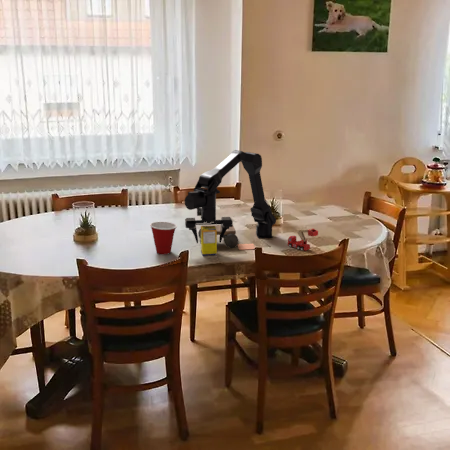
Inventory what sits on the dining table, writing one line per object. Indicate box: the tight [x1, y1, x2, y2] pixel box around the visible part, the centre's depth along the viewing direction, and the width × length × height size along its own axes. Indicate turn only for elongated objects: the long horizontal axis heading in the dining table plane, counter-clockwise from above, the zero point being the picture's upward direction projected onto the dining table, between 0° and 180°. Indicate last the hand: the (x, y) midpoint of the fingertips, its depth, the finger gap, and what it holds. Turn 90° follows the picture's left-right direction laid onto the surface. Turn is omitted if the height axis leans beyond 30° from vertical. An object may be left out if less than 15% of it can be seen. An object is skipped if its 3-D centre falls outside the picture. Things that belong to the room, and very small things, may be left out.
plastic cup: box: [149, 221, 178, 255], centre depth 221 cm, size 11×11×12 cm
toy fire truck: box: [287, 228, 319, 252], centre depth 227 cm, size 3×14×10 cm, turn 44°
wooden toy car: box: [197, 224, 239, 249], centre depth 233 cm, size 16×13×7 cm
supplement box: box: [200, 225, 218, 257], centre depth 220 cm, size 6×6×11 cm
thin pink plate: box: [236, 243, 256, 251], centre depth 230 cm, size 7×7×1 cm
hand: (208, 242), depth 221 cm, fingers open, 9 cm apart
